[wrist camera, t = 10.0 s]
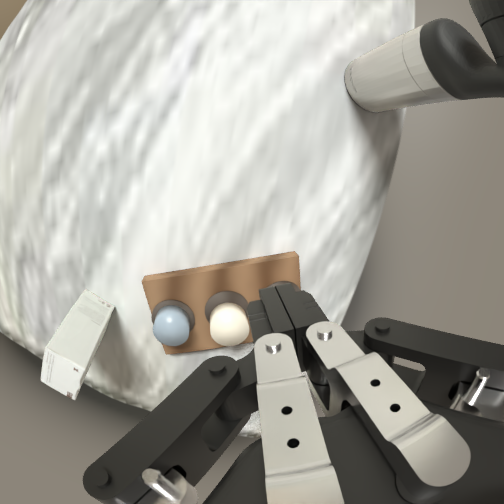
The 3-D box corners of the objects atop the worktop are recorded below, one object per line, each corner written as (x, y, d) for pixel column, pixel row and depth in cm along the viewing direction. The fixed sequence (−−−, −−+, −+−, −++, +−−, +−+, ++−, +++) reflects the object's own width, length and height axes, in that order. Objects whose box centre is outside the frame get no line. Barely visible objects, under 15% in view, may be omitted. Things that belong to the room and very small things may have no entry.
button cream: (243, 299, 36) (246, 311, 33) (248, 330, 38) (251, 342, 35) (206, 306, 36) (206, 317, 33) (213, 335, 37) (214, 348, 35)
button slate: (185, 302, 37) (184, 313, 34) (193, 331, 39) (192, 343, 36) (152, 307, 37) (148, 318, 34) (161, 335, 38) (158, 347, 36)
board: (295, 251, 40) (300, 256, 38) (299, 324, 44) (303, 332, 42) (143, 276, 37) (139, 282, 35) (166, 347, 42) (164, 355, 40)
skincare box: (85, 287, 37) (43, 342, 23) (117, 306, 38) (86, 369, 24) (73, 323, 38) (37, 380, 24) (102, 341, 40) (74, 403, 26)
